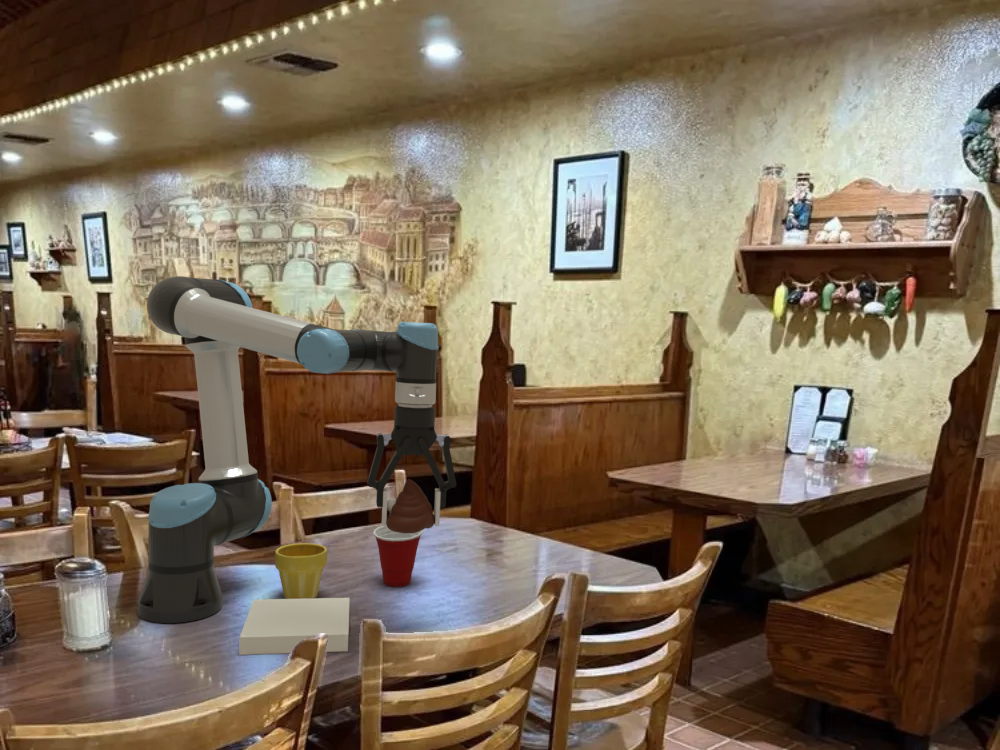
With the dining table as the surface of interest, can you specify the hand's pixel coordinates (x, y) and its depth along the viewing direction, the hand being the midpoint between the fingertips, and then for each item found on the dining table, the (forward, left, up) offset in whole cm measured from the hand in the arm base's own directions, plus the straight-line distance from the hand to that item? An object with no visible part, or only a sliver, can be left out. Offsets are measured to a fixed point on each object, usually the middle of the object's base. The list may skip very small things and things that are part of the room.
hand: (410, 524), depth 145 cm
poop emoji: (0, 0, -1) cm, 1 cm away
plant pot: (-21, +17, -20) cm, 33 cm away
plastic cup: (-1, +24, -20) cm, 31 cm away
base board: (-20, -2, -19) cm, 28 cm away
